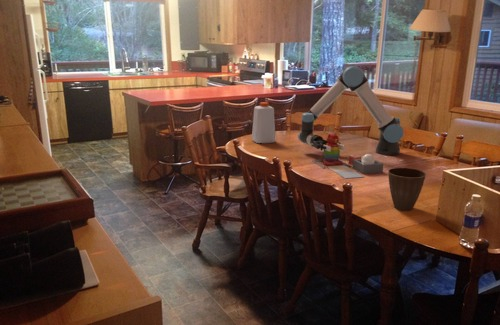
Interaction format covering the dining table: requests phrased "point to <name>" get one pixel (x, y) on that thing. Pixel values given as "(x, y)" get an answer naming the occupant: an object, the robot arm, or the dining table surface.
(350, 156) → the die
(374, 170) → the popper base
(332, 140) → the stacking bear
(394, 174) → the plant pot
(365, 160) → the dome
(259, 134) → the plastic bottle
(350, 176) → the track
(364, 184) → the dining table surface
